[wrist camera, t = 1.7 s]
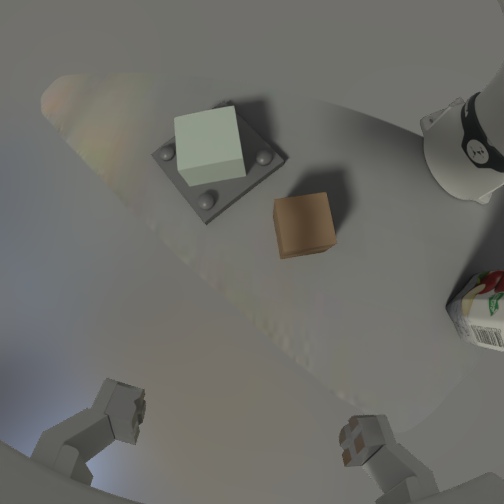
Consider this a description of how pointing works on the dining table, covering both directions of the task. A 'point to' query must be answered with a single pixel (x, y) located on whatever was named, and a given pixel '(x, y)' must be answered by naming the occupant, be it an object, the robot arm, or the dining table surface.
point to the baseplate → (223, 189)
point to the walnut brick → (303, 225)
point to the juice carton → (480, 310)
